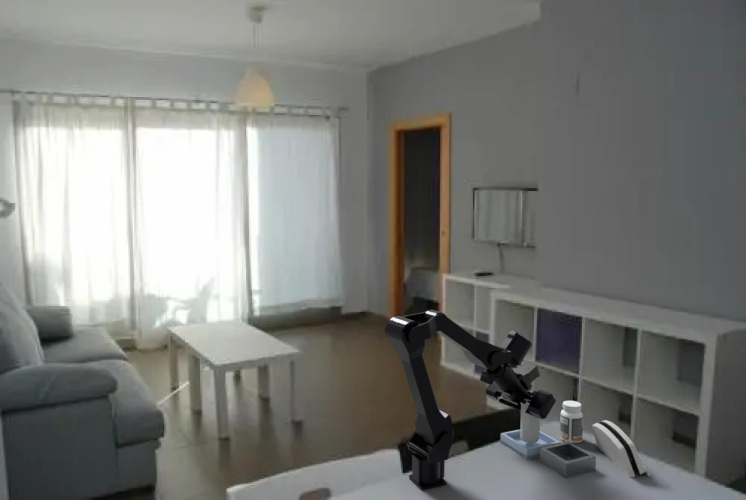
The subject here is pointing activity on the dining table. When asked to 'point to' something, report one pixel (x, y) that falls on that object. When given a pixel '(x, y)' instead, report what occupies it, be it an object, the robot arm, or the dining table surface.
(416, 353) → the robot arm
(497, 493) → the dining table surface
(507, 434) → the tray
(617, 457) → the white black arched block
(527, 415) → the beverage can
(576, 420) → the pill bottle
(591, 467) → the short square tube
